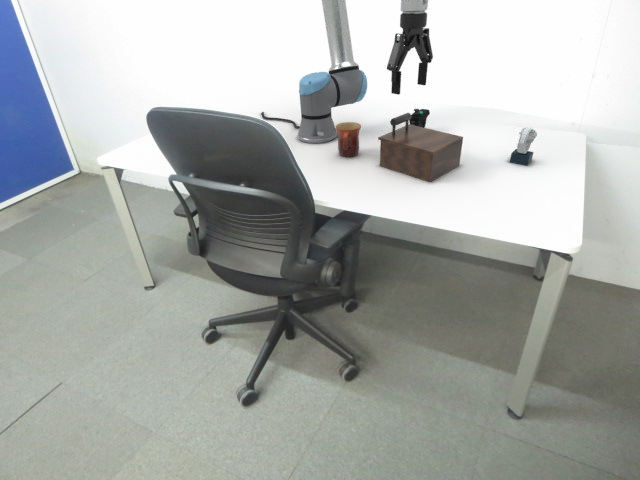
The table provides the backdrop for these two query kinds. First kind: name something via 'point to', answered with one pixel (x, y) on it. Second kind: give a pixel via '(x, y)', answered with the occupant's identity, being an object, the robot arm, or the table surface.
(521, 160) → the white bust statue
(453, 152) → the chest
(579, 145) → the table surface
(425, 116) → the controller
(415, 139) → the lid
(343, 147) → the mug
